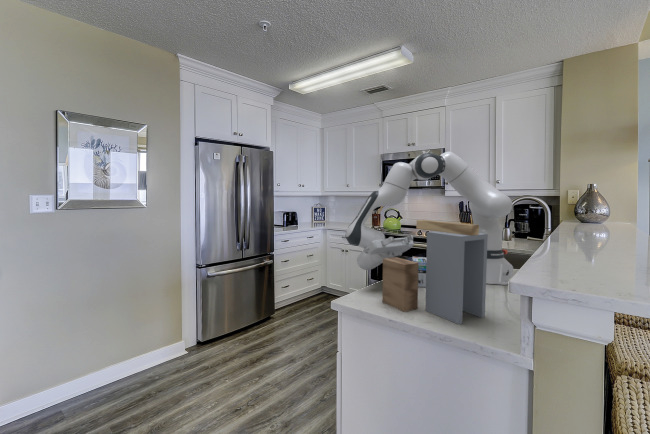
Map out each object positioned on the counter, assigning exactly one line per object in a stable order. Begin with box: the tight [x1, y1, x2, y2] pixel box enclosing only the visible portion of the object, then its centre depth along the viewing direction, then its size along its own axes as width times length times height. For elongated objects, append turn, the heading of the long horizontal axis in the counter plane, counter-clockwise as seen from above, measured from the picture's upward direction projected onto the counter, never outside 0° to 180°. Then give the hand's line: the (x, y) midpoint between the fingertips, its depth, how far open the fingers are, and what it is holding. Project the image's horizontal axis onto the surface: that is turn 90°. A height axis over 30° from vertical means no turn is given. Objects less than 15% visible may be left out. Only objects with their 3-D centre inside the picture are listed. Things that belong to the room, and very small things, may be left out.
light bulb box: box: [411, 256, 427, 288], centre depth 136 cm, size 11×7×11 cm, turn 168°
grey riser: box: [424, 231, 488, 325], centre depth 102 cm, size 12×13×26 cm
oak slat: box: [415, 219, 479, 236], centre depth 105 cm, size 4×22×3 cm, turn 29°
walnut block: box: [381, 257, 419, 313], centre depth 110 cm, size 6×11×16 cm, turn 29°
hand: (402, 237), depth 123 cm, fingers open, 8 cm apart
